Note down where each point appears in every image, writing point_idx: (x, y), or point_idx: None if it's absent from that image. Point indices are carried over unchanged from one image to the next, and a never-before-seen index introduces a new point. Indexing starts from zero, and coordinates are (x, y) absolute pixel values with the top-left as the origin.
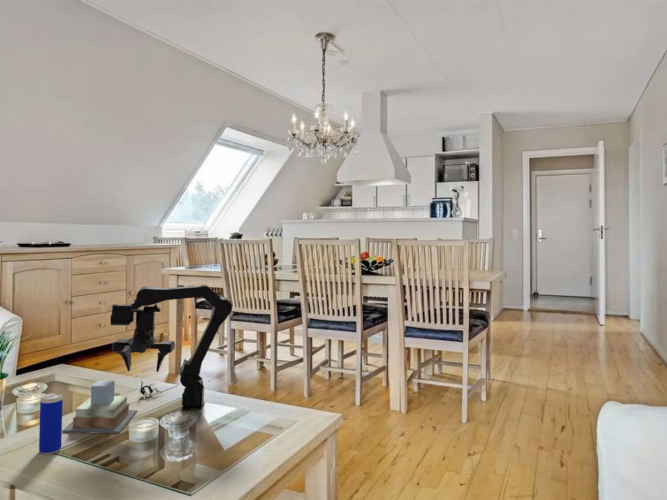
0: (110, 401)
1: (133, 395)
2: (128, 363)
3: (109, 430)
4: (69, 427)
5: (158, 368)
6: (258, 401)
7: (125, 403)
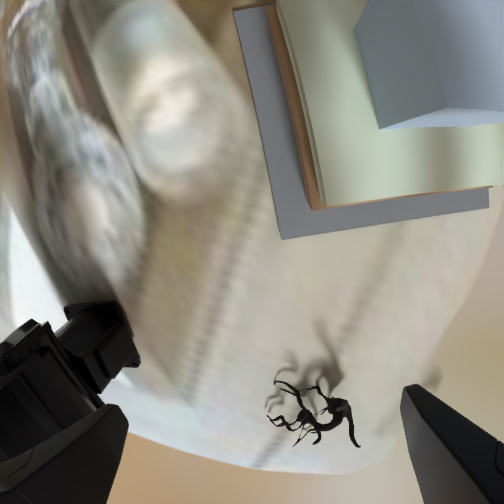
0: (368, 66)
1: (373, 391)
2: (444, 449)
3: None
4: None
5: (81, 421)
6: None
7: (317, 176)
